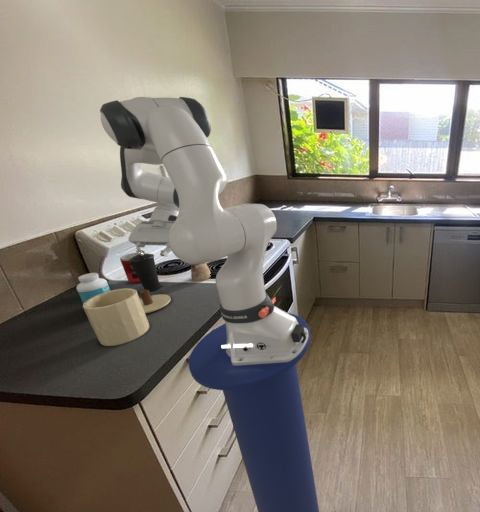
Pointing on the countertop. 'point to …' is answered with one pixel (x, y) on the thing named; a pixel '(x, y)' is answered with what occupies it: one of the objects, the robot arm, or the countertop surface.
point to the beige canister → (116, 316)
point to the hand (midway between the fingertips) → (151, 255)
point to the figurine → (200, 272)
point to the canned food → (129, 268)
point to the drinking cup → (146, 271)
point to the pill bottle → (91, 286)
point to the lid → (153, 301)
